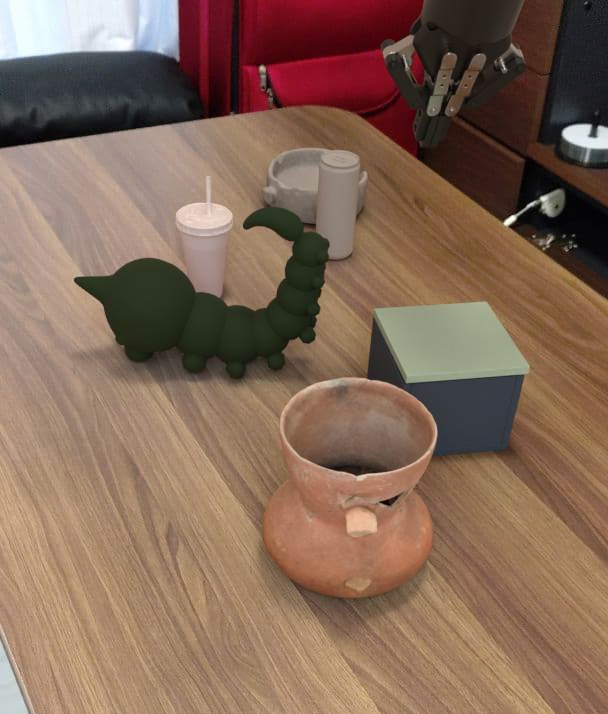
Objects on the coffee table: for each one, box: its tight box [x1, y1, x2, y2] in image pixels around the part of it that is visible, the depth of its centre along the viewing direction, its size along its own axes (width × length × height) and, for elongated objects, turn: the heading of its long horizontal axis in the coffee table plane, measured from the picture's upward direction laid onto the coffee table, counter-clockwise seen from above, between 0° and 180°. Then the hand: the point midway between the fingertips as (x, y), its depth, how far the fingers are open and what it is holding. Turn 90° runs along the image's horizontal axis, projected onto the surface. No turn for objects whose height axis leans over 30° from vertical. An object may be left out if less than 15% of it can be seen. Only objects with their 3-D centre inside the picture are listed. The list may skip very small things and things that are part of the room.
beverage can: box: [315, 149, 361, 261], centre depth 118 cm, size 5×5×12 cm
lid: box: [372, 301, 531, 383], centre depth 92 cm, size 12×12×1 cm
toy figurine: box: [73, 206, 330, 379], centre depth 98 cm, size 9×19×25 cm
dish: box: [261, 147, 369, 225], centre depth 130 cm, size 14×14×5 cm
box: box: [366, 316, 526, 457], centre depth 96 cm, size 12×12×9 cm
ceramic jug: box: [261, 376, 437, 599], centre depth 80 cm, size 18×14×14 cm
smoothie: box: [175, 175, 234, 299], centre depth 109 cm, size 6×6×14 cm
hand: (426, 140), depth 89 cm, fingers closed
